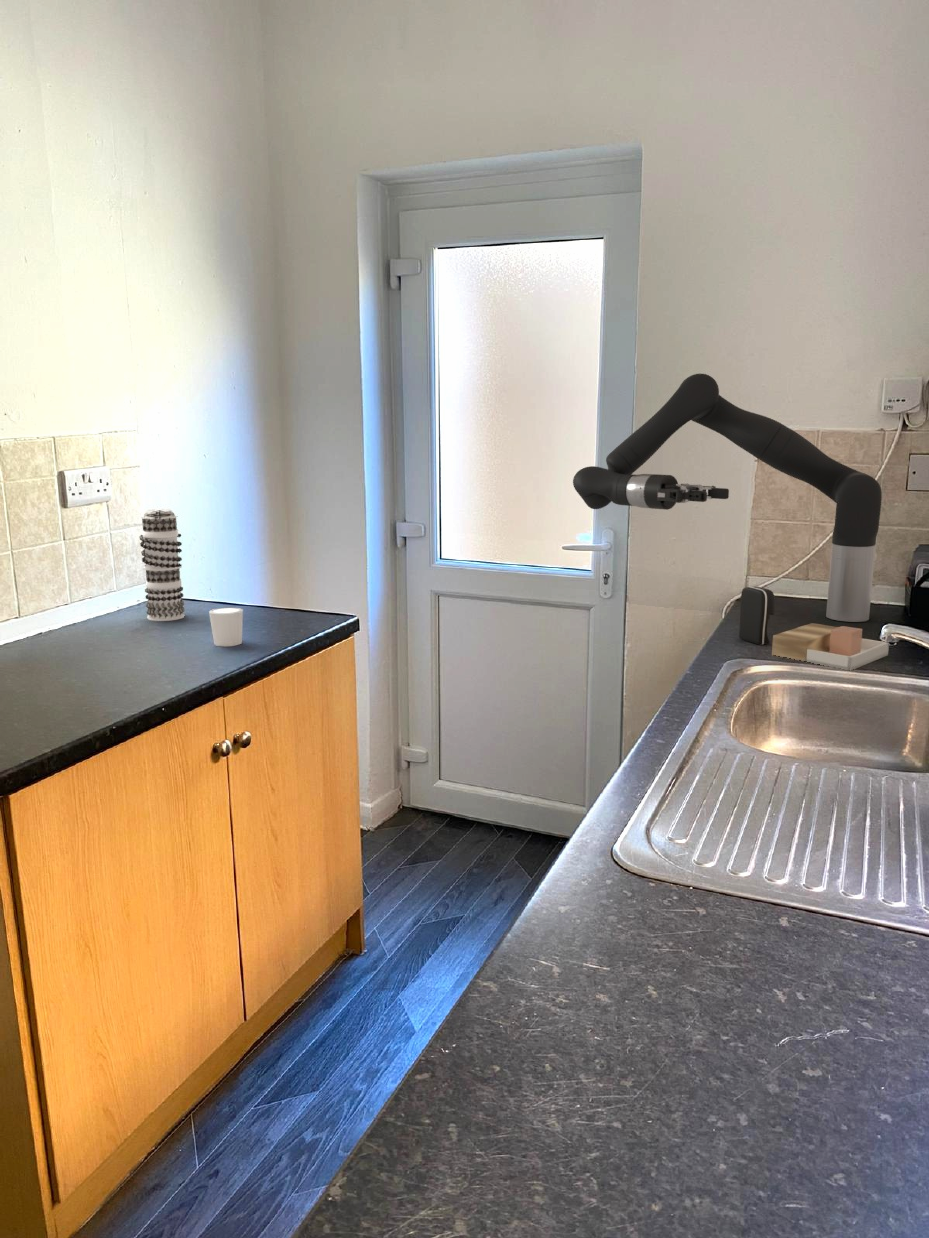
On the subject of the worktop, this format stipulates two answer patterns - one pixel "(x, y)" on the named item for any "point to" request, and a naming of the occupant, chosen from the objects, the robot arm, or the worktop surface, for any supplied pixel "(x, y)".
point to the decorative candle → (162, 565)
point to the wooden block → (802, 641)
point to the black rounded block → (755, 614)
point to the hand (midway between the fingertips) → (717, 495)
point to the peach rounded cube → (845, 641)
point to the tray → (868, 654)
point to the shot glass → (226, 626)
